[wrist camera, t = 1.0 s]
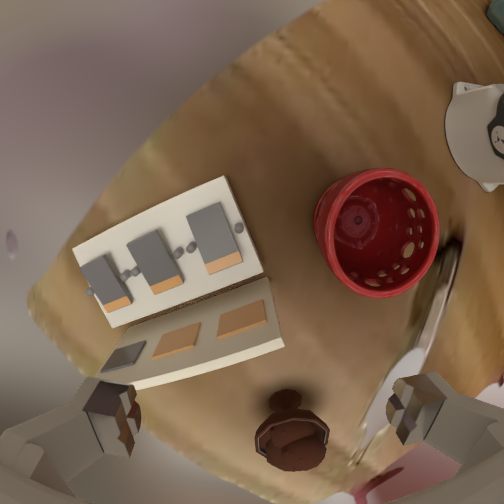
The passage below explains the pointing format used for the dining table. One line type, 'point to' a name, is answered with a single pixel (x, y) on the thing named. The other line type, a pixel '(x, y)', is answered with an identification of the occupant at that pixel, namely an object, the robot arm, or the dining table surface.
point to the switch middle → (155, 262)
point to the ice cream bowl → (291, 434)
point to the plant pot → (377, 231)
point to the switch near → (214, 238)
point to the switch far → (106, 284)
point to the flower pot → (497, 14)
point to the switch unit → (185, 297)
